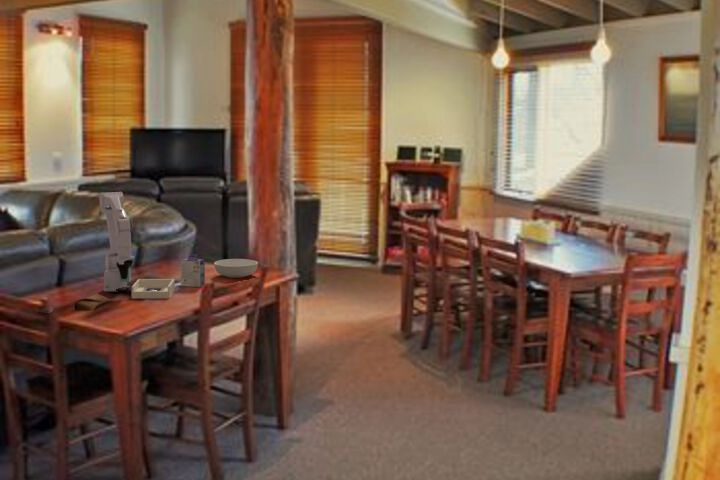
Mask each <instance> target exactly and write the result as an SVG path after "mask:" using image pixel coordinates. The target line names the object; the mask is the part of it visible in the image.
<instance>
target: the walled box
mask: <svg viewBox="0 0 720 480" xmlns="http://www.w3.org/2000/svg"><path fill="white" fill-rule="evenodd" d="M175 282H176V280H175V278H148V279H147V278H138V279H137V280H136V281H135V282H133V285H132V286H131V299H170V298H171V297H172V296H173V294H174V292H175V291H176V285H175V284H176V283H175ZM147 289H154V290H157V291H147Z"/></svg>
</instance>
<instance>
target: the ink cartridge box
mask: <svg viewBox="0 0 720 480" xmlns="http://www.w3.org/2000/svg"><path fill="white" fill-rule="evenodd" d="M205 271H206V264H205V258H202V259H201V258H198V254H197V253H190V254H189V257H188V258H182V259H181V260H180V286H181V287H192V288H193V287H195V288H201V287H204V286H206V272H205ZM203 285H204V286H203Z"/></svg>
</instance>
